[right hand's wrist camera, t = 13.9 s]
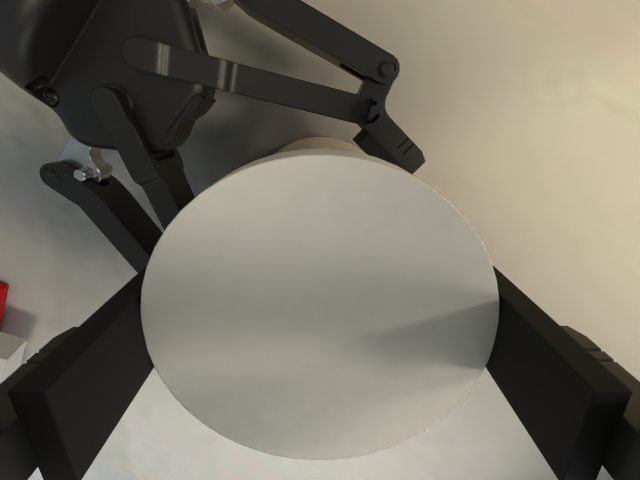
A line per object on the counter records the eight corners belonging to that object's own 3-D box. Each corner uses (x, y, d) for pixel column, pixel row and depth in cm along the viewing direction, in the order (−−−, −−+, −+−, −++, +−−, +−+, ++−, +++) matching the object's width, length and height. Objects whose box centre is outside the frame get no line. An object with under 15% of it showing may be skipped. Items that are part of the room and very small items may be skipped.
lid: (94, 273, 12) (61, 297, 10) (369, 66, 9) (378, 58, 8) (288, 461, 15) (285, 499, 13) (528, 340, 13) (555, 370, 11)
